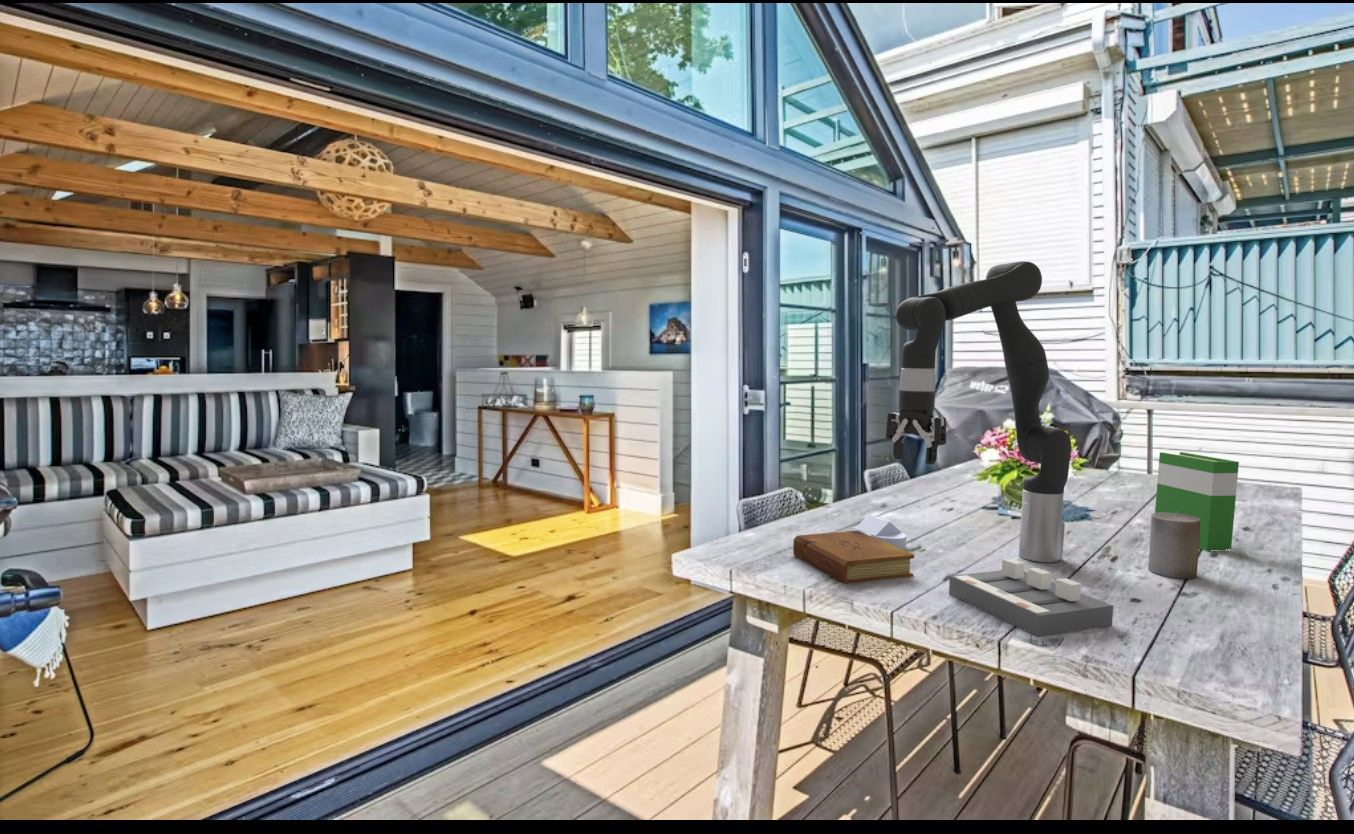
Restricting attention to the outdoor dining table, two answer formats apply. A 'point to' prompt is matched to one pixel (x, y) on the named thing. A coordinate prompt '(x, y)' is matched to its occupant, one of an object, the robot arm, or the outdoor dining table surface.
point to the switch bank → (1029, 604)
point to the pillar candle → (1174, 545)
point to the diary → (853, 556)
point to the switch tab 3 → (1068, 589)
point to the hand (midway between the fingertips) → (914, 461)
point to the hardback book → (1200, 494)
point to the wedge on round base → (883, 531)
